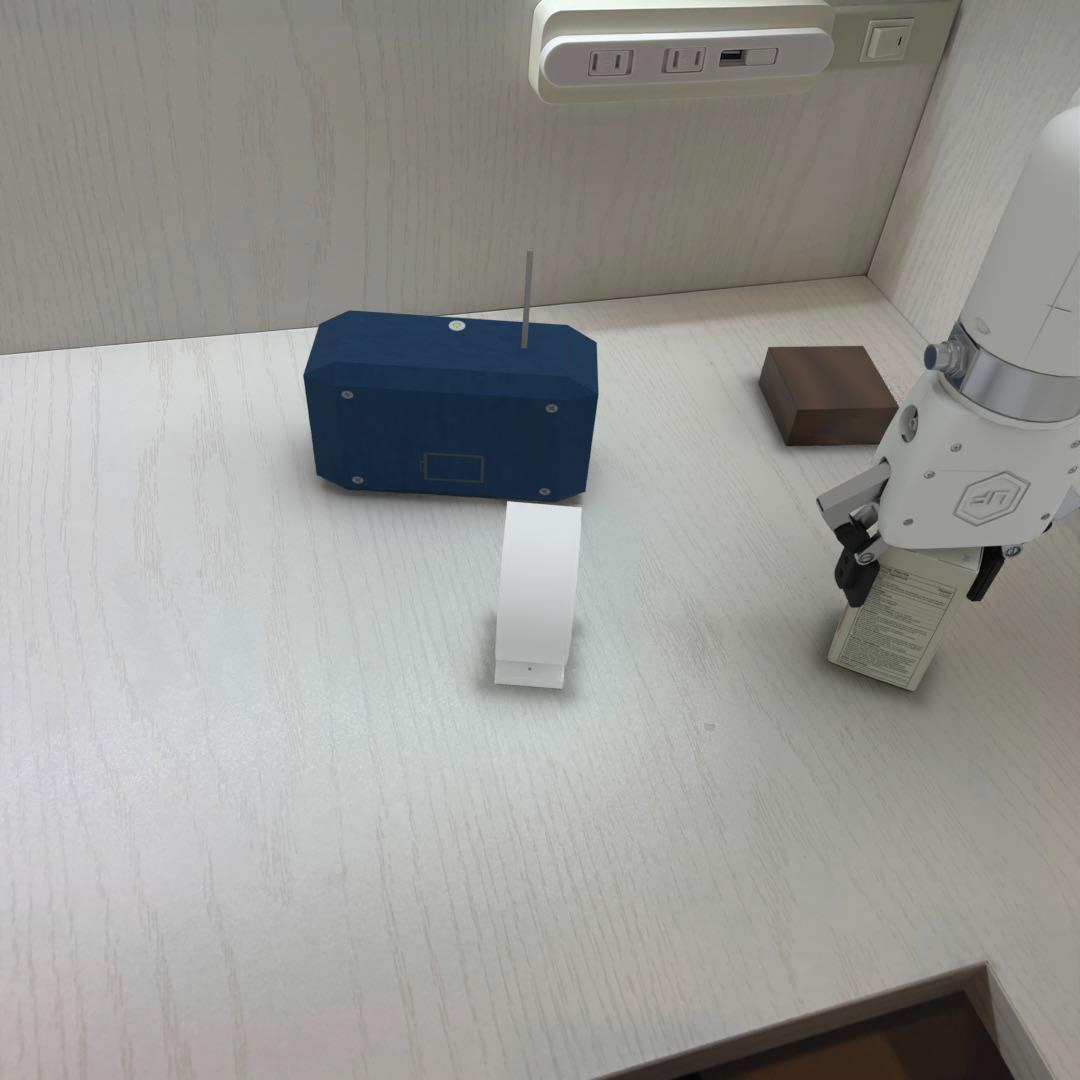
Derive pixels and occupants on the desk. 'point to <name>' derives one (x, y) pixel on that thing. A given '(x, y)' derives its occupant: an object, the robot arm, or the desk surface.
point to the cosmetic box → (905, 613)
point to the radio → (453, 405)
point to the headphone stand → (537, 594)
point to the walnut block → (826, 395)
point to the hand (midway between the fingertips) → (907, 586)
